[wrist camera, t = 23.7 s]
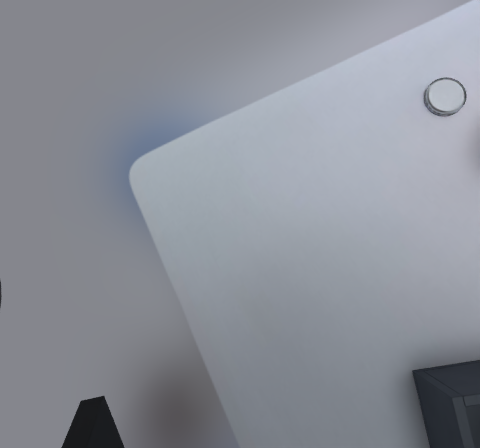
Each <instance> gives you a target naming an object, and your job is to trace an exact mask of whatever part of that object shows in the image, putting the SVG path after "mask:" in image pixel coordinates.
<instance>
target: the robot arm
mask: <svg viewBox="0 0 480 448" xmlns="http://www.w3.org/2000/svg"><path fill="white" fill-rule="evenodd" d="M62 448H124V445H123V443H122V440H121V438H120V435H119V433H118V430H117V428H116V425H115V422H114V420H113V417H112V415H111V412H110V410H109V407H108V405H107V402H106V400H105V397H104V396H101V397H96V398H92V399H88V400H83V401H81V402H80V405H79V407H78V409H77V412H76V414H75V416H74V419H73V421H72V424H71V426H70V429H69V431H68V434H67V436H66V438H65V441H64V443H63V446H62Z"/></svg>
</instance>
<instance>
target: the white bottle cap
mask: <svg viewBox="0 0 480 448" xmlns="http://www.w3.org/2000/svg"><path fill="white" fill-rule="evenodd" d="M424 99H425V104H426V106H427V107H428V109H429V110H430V111H432V112H433V113H435V114H437V115H441V116H448V115H452V114H454V113H456V112H457V111H459V110H460V109H461V108H462V106H463V105H464V103H465V101H466V90H465V88H464V87H463V85H462V84H461V83H460V82H459V81H457V80H455V79H452V78H440V79H437V80H435V81H434V82H432V83H431V84H430V86H429V87H428V88H427V90H426V92H425V97H424Z"/></svg>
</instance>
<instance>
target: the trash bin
mask: <svg viewBox="0 0 480 448" xmlns="http://www.w3.org/2000/svg"><path fill="white" fill-rule="evenodd" d="M412 372H413V376H414V380H415V384H416V389H417V393H418V397H419V401H420V406H421V410H422V414H423V418H424V423H425V427H426V431H427V435H428V439H429V444H430V448H480V360H477V361H471V362H464V363H458V364H452V365H445V366H439V367H432V368H426V369H419V370H413V371H412Z"/></svg>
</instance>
